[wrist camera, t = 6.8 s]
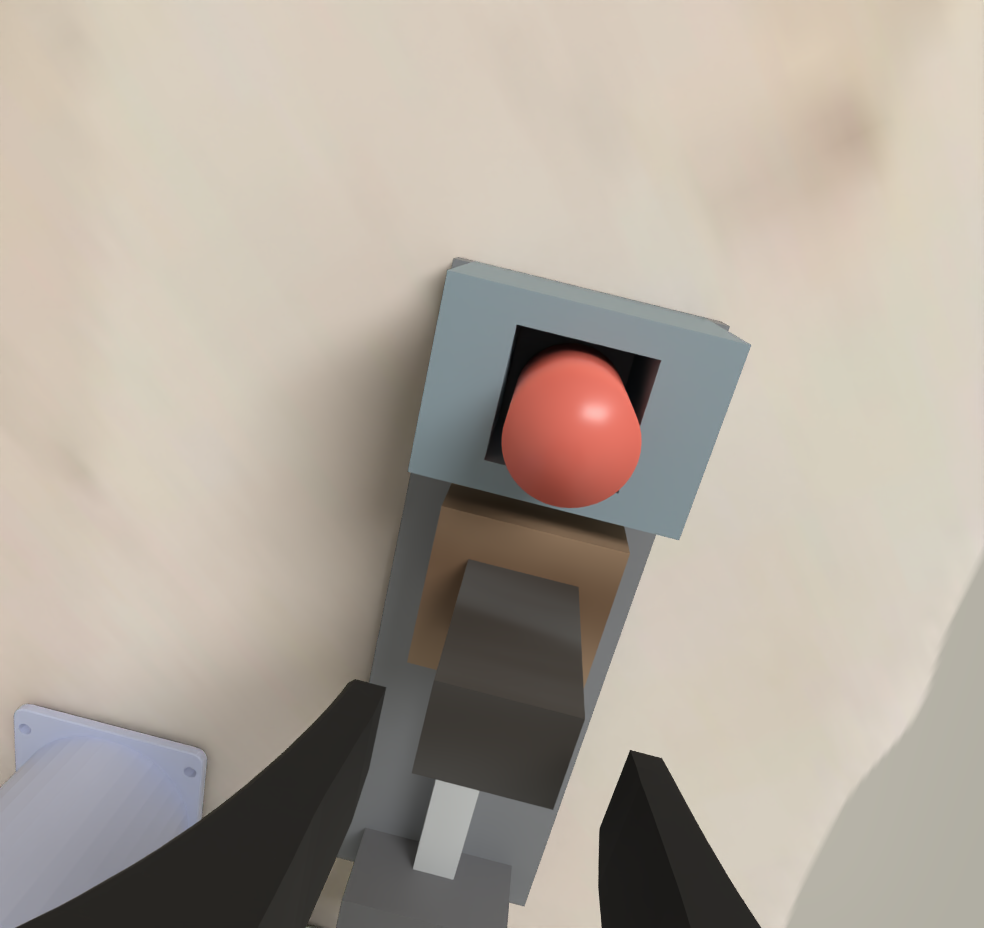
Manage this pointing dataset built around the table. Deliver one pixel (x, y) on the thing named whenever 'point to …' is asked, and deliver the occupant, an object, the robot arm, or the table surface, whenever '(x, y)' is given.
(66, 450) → the table surface
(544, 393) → the plunger
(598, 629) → the carriage
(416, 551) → the rail bed
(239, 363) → the table surface
